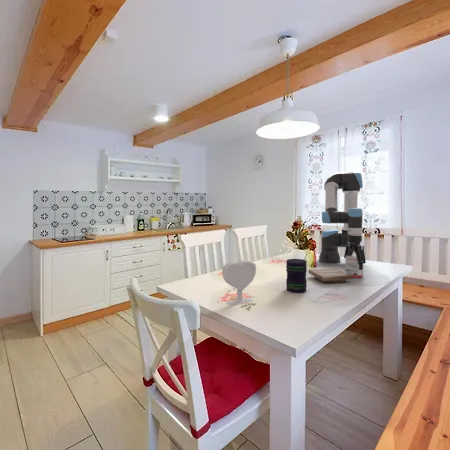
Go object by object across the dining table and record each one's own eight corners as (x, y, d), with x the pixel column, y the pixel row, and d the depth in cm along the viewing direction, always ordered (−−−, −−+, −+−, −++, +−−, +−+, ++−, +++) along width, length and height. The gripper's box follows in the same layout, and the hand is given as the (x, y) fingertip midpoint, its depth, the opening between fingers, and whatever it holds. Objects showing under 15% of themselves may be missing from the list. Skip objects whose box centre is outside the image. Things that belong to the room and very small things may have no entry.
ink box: (363, 277, 157) (363, 256, 156) (359, 278, 154) (359, 258, 153) (348, 274, 163) (349, 254, 162) (344, 275, 160) (345, 256, 159)
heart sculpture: (227, 306, 115) (226, 265, 114) (221, 302, 120) (221, 262, 118) (257, 300, 122) (257, 260, 121) (251, 296, 127) (250, 259, 125)
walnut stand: (308, 276, 160) (308, 269, 160) (335, 274, 163) (335, 268, 162) (323, 284, 143) (323, 277, 143) (352, 282, 146) (352, 275, 146)
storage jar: (301, 286, 141) (301, 258, 140) (310, 292, 131) (310, 262, 130) (283, 287, 139) (283, 259, 138) (290, 293, 130) (290, 263, 129)
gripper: (338, 233, 167) (337, 268, 169) (361, 237, 145) (360, 278, 147) (349, 232, 168) (348, 268, 170) (373, 236, 146) (372, 277, 148)
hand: (354, 272), depth 158 cm, fingers closed on ink box, 9 cm apart
